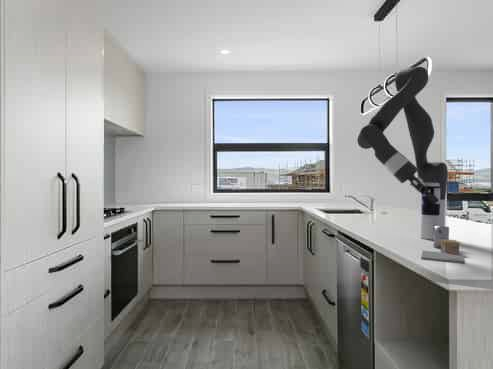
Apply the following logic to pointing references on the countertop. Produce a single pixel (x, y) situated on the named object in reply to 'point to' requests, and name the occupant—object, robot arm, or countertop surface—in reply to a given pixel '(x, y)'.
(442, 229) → the grey tin
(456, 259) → the mat
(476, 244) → the countertop surface
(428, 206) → the beverage can
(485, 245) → the countertop surface
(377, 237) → the countertop surface
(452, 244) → the walnut block
